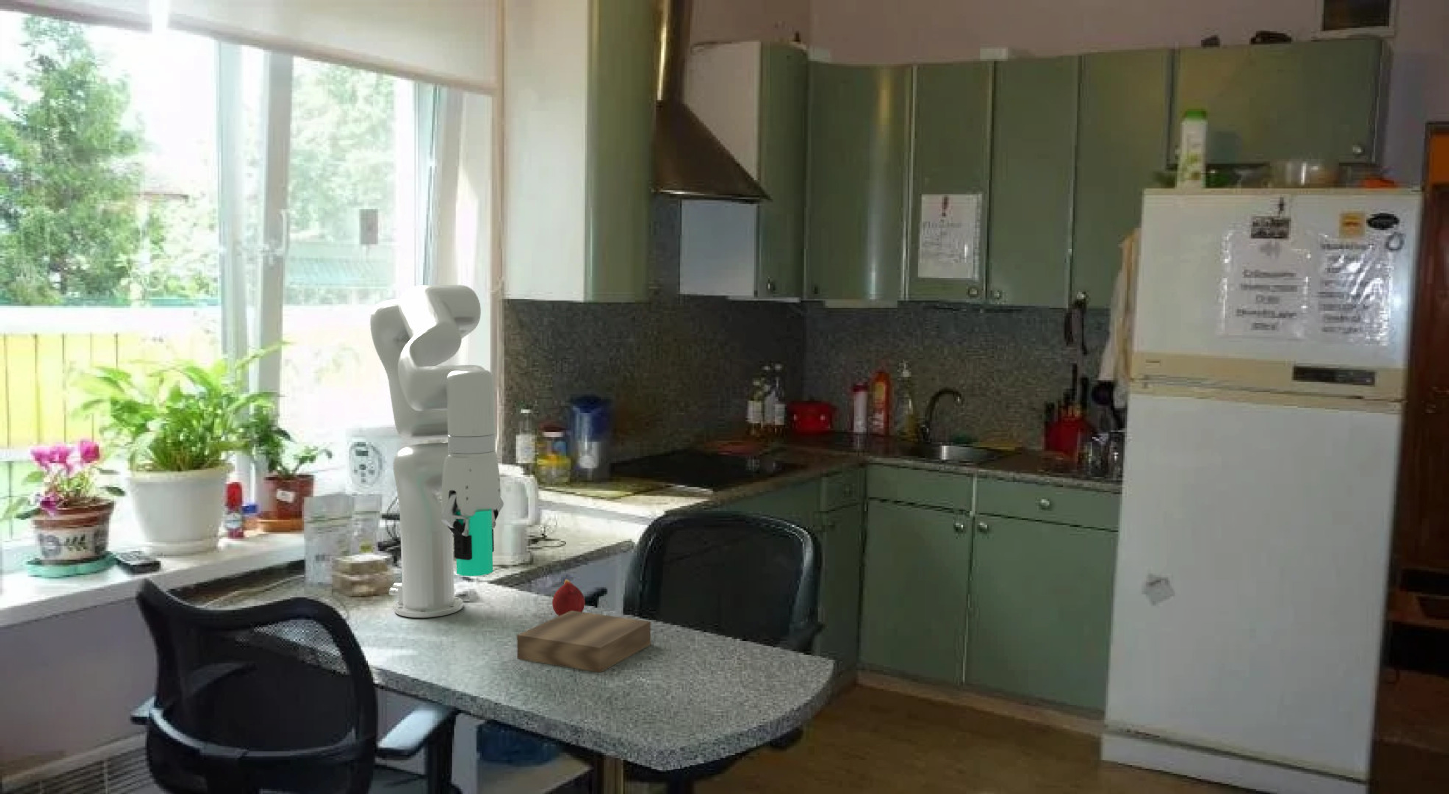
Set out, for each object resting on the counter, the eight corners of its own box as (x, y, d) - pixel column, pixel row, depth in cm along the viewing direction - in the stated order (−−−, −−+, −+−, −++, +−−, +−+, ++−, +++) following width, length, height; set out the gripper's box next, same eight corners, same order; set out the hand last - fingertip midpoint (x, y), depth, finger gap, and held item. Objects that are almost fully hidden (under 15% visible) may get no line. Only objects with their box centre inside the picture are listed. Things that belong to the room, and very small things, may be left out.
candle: (475, 578, 186) (473, 504, 185) (448, 573, 189) (446, 500, 188) (501, 570, 191) (499, 498, 190) (474, 565, 194) (472, 495, 193)
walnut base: (517, 658, 190) (516, 635, 190) (571, 632, 204) (571, 610, 204) (600, 672, 183) (599, 647, 183) (650, 644, 197) (650, 621, 197)
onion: (588, 618, 213) (587, 576, 212) (581, 627, 208) (580, 583, 207) (557, 618, 214) (556, 575, 213) (549, 627, 208) (548, 583, 207)
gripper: (486, 437, 197) (488, 542, 199) (418, 450, 182) (421, 564, 184) (522, 440, 194) (524, 547, 196) (455, 453, 179) (458, 569, 181)
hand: (474, 554), depth 190 cm, fingers closed on candle, 4 cm apart
